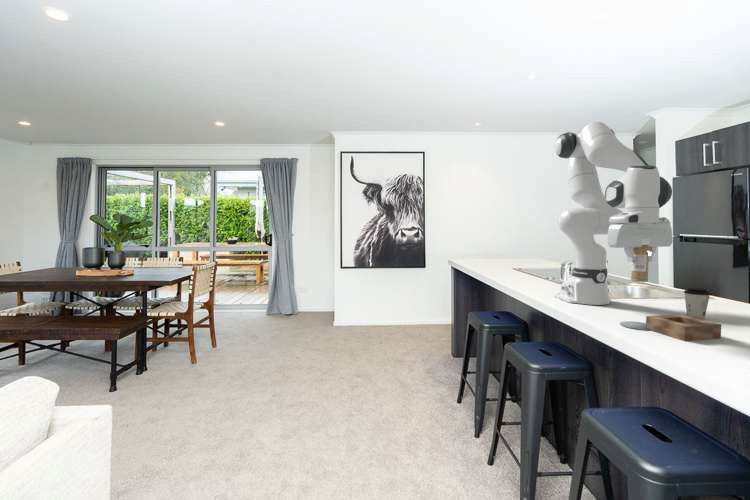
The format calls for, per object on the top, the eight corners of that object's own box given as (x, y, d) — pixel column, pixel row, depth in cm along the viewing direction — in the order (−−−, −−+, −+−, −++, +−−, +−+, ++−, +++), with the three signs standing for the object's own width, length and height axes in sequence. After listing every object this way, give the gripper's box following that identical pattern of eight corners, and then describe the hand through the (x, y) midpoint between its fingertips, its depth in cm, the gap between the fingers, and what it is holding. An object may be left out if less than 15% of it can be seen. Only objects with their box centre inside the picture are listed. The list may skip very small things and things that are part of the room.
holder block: (645, 328, 112) (646, 316, 112) (678, 326, 114) (679, 314, 114) (684, 340, 101) (685, 326, 100) (720, 338, 102) (721, 324, 102)
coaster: (613, 323, 119) (613, 322, 119) (637, 321, 120) (637, 320, 120) (637, 331, 110) (637, 329, 110) (662, 329, 112) (662, 328, 112)
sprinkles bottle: (650, 281, 114) (652, 238, 113) (644, 282, 111) (646, 238, 110) (633, 279, 118) (635, 238, 117) (627, 280, 115) (628, 238, 114)
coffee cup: (714, 320, 120) (715, 291, 120) (688, 319, 122) (689, 290, 122) (702, 315, 127) (704, 287, 126) (678, 314, 129) (679, 286, 128)
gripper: (660, 217, 118) (658, 259, 119) (604, 218, 115) (603, 261, 116) (679, 216, 112) (677, 261, 112) (620, 217, 108) (619, 263, 109)
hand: (639, 261), depth 114 cm, fingers closed on sprinkles bottle, 4 cm apart
